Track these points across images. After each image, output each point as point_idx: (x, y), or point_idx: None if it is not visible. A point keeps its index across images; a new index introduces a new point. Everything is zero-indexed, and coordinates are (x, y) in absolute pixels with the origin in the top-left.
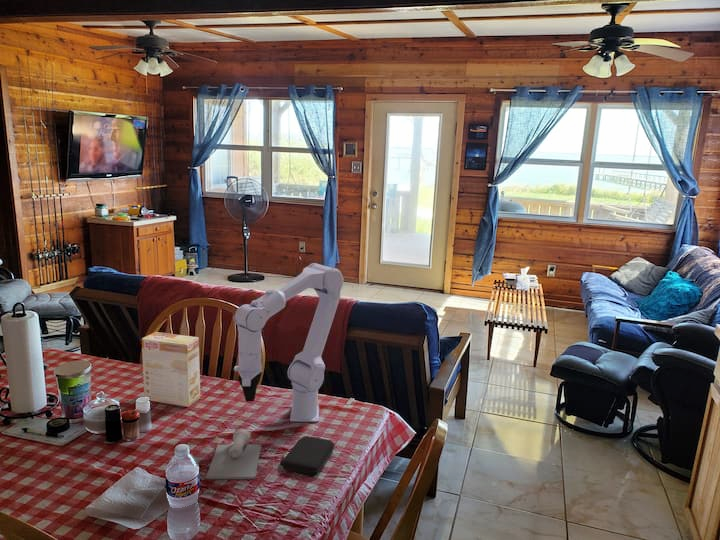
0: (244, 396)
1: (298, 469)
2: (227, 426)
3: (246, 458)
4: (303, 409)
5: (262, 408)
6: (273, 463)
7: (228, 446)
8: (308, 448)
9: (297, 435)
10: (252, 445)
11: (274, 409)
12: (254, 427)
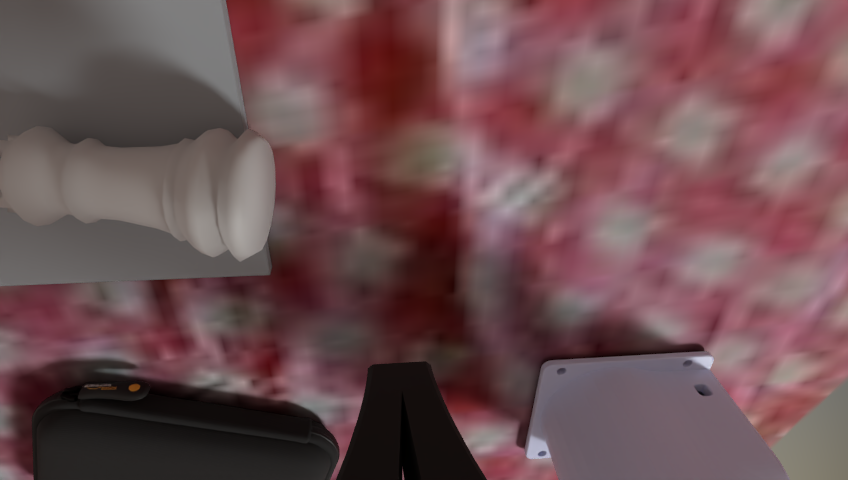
0: (365, 408)
1: (33, 462)
2: (540, 8)
3: None
4: (559, 463)
5: (745, 210)
6: (117, 339)
7: (206, 80)
8: None
9: None
10: None
11: (708, 274)
12: (504, 198)
